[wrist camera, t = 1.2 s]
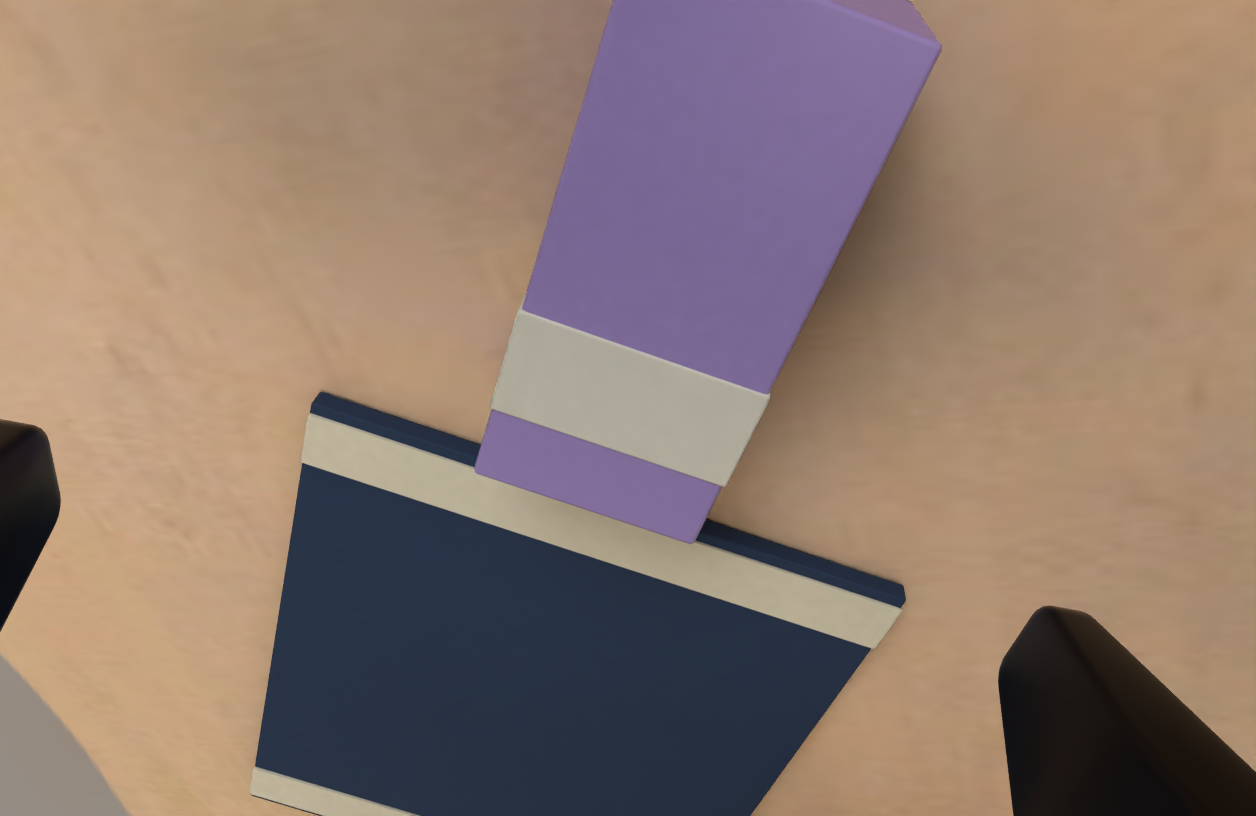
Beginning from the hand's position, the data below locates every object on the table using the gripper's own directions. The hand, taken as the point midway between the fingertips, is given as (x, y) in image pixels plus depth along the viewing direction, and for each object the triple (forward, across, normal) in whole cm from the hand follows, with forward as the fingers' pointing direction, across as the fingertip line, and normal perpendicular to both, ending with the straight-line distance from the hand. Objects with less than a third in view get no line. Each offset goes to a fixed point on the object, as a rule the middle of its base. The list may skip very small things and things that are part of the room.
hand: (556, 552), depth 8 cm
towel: (+12, -1, +19) cm, 22 cm away
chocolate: (+12, -2, +2) cm, 13 cm away
